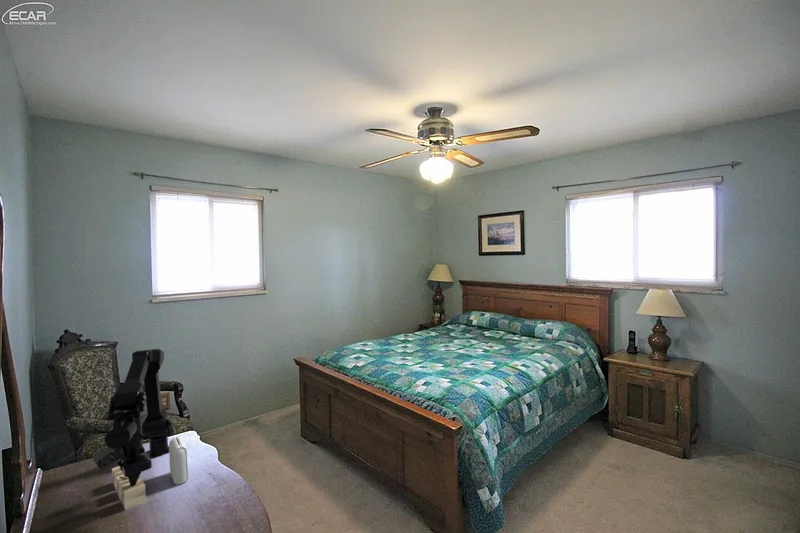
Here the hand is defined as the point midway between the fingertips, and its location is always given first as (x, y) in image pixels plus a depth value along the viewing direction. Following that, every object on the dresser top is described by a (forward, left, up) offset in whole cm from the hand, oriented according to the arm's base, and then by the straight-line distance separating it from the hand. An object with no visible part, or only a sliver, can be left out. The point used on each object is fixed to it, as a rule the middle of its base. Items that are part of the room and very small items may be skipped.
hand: (133, 485), depth 110 cm
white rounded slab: (-4, +13, -5) cm, 14 cm away
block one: (-14, 0, -5) cm, 15 cm away
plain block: (0, 0, -5) cm, 5 cm away
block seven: (-7, 0, -5) cm, 9 cm away
